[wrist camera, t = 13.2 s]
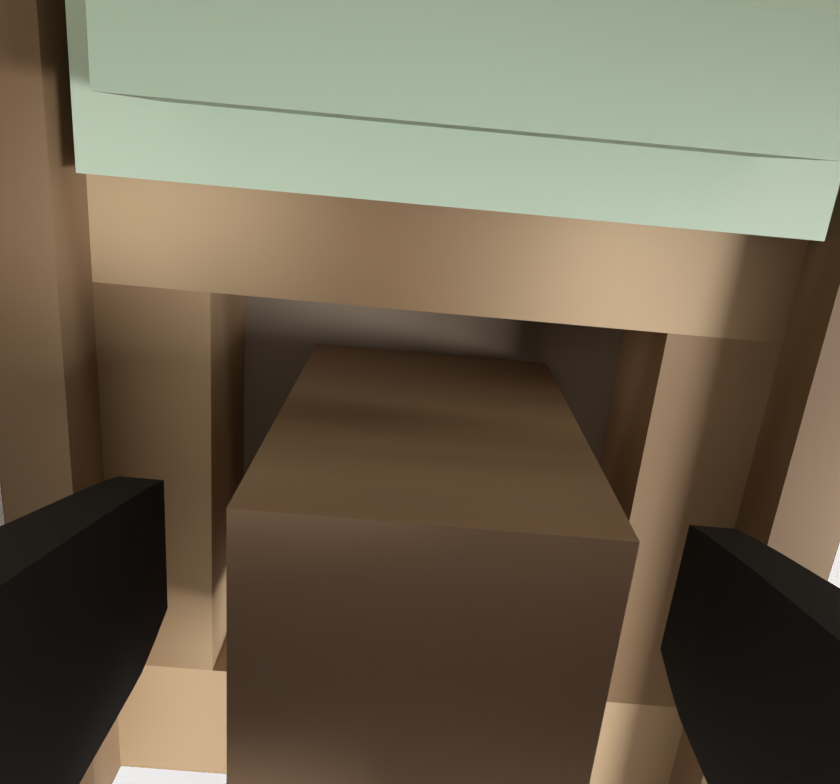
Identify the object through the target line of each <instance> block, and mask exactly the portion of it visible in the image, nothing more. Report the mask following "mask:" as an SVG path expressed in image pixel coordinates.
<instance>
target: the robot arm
mask: <svg viewBox="0 0 840 784" xmlns="http://www.w3.org/2000/svg"><path fill="white" fill-rule="evenodd" d="M167 609H168V603H167V569H166V535H165V501H164V480H157V479H145V478H133V477H122V476H118V477H115V478H112V479H109V480H106V481H103V482H100V483H98V484H95V485H93V486H90V487H88V488H85V489H83V490H81V491H78V492H76V493H74V494H72V495H69V496H67V497H65V498H62V499H60V500H58V501H56V502H54V503H51V504H49V505H47V506H45V507H43V508H40V509H38V510H36V511H34V512H31V513H29V514H27V515H25V516H22V517H20V518H18V519H16V520H13V521H11V522H9V523H7V524H5V525H2V526H0V784H80V782H81V780H82V778H83V777H84V775H85V773H86V771H87V770H88V768H89V766H90V764H91V763H92V761H93V759H94V757H95V756H96V754H97V752H98V750H99V749H100V747H101V745H102V743H103V742H104V740H105V738H106V736H107V735H108V733H109V731H110V729H111V728H112V726H113V724H114V722H115V720H116V719H117V717H118V715H119V713H120V711H121V710H122V708H123V706H124V704H125V703H126V701H127V699H128V697H129V695H130V694H131V692H132V690H133V688H134V686H135V685H136V683H137V681H138V679H139V677H140V675H141V674H142V671H143V669H144V667H145V664H146V662H147V659H148V657H149V655H150V652H151V650H152V647H153V645H154V642H155V640H156V637H157V635H158V632H159V629H160V627H161V624H162V622H163V619H164V616H165V614H166V611H167ZM660 650H661V654H662V658H663V661H664V665H665V669H666V673H667V677H668V681H669V684H670V688H671V691H672V695H673V698H674V701H675V705H676V708H677V711H678V715H679V718H680V720H681V723H682V725H683V727H684V730H685V732H686V735H687V737H688V739H689V742H690V744H691V746H692V749H693V751H694V754H695V756H696V758H697V761H698V763H699V765H700V768H701V770H702V772H703V775H704V777H705V779H706V781H707V784H840V588H838V587H836V586H835V585H833V584H831V583H830V582H828V581H826V580H825V579H823V578H821V577H820V576H818V575H816V574H815V573H813V572H812V571H810V570H808V569H807V568H805V567H803V566H802V565H800V564H798V563H797V562H795V561H793V560H792V559H790V558H788V557H787V556H785V555H783V554H782V553H780V552H778V551H776V550H775V549H773V548H771V547H769V546H768V545H766V544H764V543H762V542H760V541H759V540H757V539H755V538H753V537H751V536H749V535H747V534H745V533H742V532H740V531H738V530H736V529H732V528H720V527H709V526H697V525H689V529H688V533H687V537H686V542H685V546H684V550H683V554H682V559H681V563H680V567H679V571H678V576H677V580H676V584H675V588H674V592H673V597H672V601H671V605H670V609H669V614H668V618H667V622H666V626H665V631H664V635H663V639H662V643H661V648H660Z"/></svg>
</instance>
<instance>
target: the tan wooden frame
mask: <svg viewBox="0 0 840 784" xmlns="http://www.w3.org/2000/svg"><path fill="white" fill-rule="evenodd" d="M316 344H326V345H338V346H349V347H361V348H373V349H384V350H396V351H408V352H419V353H431V354H443V355H455V356H466V357H478V358H490V359H501V360H513V361H525V362H536V363H546V364H547V366H548V368H549V370H550V372H551V374H552V376H553V378H554V380H555V381H556V383H557V385H558V387H559V389H560V391H561V393H562V395H563V397H564V399H565V400H566V402H567V404H568V406H569V408H570V410H571V412H572V414H573V416H574V418H575V419H576V421H577V423H578V425H579V427H580V429H581V431H582V433H583V435H584V437H585V439H586V440H587V442H588V444H589V446H590V448H591V450H592V452H593V454H594V456H595V458H596V459H597V461H598V463H599V465H600V467H601V469H602V471H603V473H604V475H605V477H606V478H607V480H608V482H609V484H610V486H611V488H612V490H613V492H614V494H615V496H616V497H617V499H618V501H619V503H620V505H621V507H622V509H623V511H624V513H625V515H626V517H627V518H628V520H629V522H630V524H631V526H632V528H633V530H634V532H635V534H636V536H637V537H638V539H639V541H640V544H639V549H638V554H637V558H636V563H635V568H634V573H633V578H632V582H631V587H630V592H629V597H628V601H627V606H626V611H625V616H624V621H623V625H622V630H621V635H620V640H619V644H618V649H617V654H616V659H615V664H614V668H613V673H612V678H611V683H610V687H609V692H608V697H607V702H606V707H605V711H604V716H603V721H602V726H601V730H600V735H599V740H598V745H597V750H596V754H595V759H594V764H593V769H592V773H591V778H590V783H589V784H707V781H706V779H705V777H704V775H703V772H702V770H701V768H700V765H699V763H698V761H697V758H696V756H695V754H694V751H693V749H692V746H691V744H690V742H689V739H688V737H687V735H686V732H685V730H684V727H683V725H682V723H681V720H680V718H679V715H678V711H677V708H676V705H675V701H674V698H673V695H672V691H671V688H670V684H669V681H668V677H667V673H666V669H665V665H664V661H663V658H662V654H661V650H660V648H661V643H662V639H663V635H664V631H665V626H666V622H667V618H668V614H669V609H670V605H671V601H672V597H673V592H674V588H675V584H676V580H677V576H678V571H679V567H680V563H681V559H682V554H683V550H684V546H685V542H686V537H687V533H688V529H689V525H697V526H709V527H720V528H732V529H736V530H738V531H740V532H742V533H745V534H747V535H749V536H751V537H753V538H755V539H757V540H759V541H760V542H762V543H764V544H766V545H768V546H769V547H771V548H773V549H775V550H776V551H778V552H780V553H782V554H783V555H785V556H787V557H788V558H790V559H792V560H793V561H795V562H797V563H798V564H800V565H802V566H803V567H805V568H807V569H808V570H810V571H812V572H813V573H815V574H816V575H818V576H820V577H821V578H823V579H825V580H826V581H828V578H829V574H830V571H831V568H832V565H833V562H834V558H835V555H836V552H837V549H838V546H839V543H840V185H839V189H838V193H837V196H836V200H835V204H834V208H833V211H832V215H831V219H830V223H829V227H828V230H827V234H826V238H825V241H815V240H804V239H793V238H782V237H771V236H760V235H749V234H738V233H727V232H716V231H705V230H694V229H684V228H673V227H662V226H651V225H640V224H629V223H618V222H607V221H596V220H585V219H574V218H563V217H552V216H541V215H531V214H520V213H509V212H498V211H487V210H476V209H465V208H454V207H443V206H432V205H421V204H410V203H399V202H388V201H378V200H367V199H356V198H345V197H334V196H323V195H312V194H301V193H290V192H279V191H268V190H257V189H246V188H235V187H225V186H214V185H203V184H192V183H181V182H170V181H159V180H148V179H137V178H126V177H115V176H104V175H93V174H83V173H76V168H75V152H74V136H73V120H72V104H71V88H70V73H69V57H68V41H67V25H66V9H65V0H0V484H1V493H2V502H3V511H4V520H5V524H7V523H9V522H11V521H13V520H16V519H18V518H20V517H22V516H25V515H27V514H29V513H31V512H34V511H36V510H38V509H40V508H43V507H45V506H47V505H49V504H51V503H54V502H56V501H58V500H60V499H62V498H65V497H67V496H69V495H72V494H74V493H76V492H78V491H81V490H83V489H85V488H88V487H90V486H93V485H95V484H98V483H100V482H103V481H106V480H109V479H112V478H115V477H118V476H122V477H133V478H145V479H157V480H164V501H165V535H166V569H167V603H168V609H167V611H166V614H165V616H164V619H163V622H162V624H161V627H160V629H159V632H158V635H157V637H156V640H155V642H154V645H153V647H152V650H151V652H150V655H149V657H148V659H147V662H146V664H145V667H144V669H143V671H142V674H141V675H140V677H139V679H138V681H137V683H136V685H135V686H134V688H133V690H132V692H131V694H130V695H129V697H128V699H127V701H126V703H125V704H124V706H123V708H122V710H121V711H120V713H119V715H118V717H117V719H116V720H115V722H114V724H113V726H112V728H111V729H110V731H109V733H108V735H107V736H106V738H105V740H104V742H103V743H102V745H101V747H100V749H99V750H98V752H97V754H96V756H95V757H94V759H93V761H92V763H91V764H90V766H89V768H88V770H87V771H86V773H85V775H84V777H83V778H82V780H81V782H80V784H112V783H113V781H114V779H115V777H116V774H117V772H118V770H119V768H120V766H130V767H143V768H156V769H169V770H182V771H195V772H208V773H221V774H227V609H226V508H227V506H228V505H229V503H230V501H231V499H232V497H233V495H234V494H235V492H236V490H237V488H238V486H239V485H240V483H241V481H242V479H243V477H244V475H245V474H246V472H247V470H248V468H249V466H250V465H251V463H252V461H253V459H254V457H255V455H256V454H257V452H258V450H259V448H260V446H261V445H262V443H263V441H264V439H265V437H266V435H267V434H268V432H269V430H270V428H271V426H272V425H273V423H274V421H275V419H276V417H277V415H278V414H279V412H280V410H281V408H282V406H283V405H284V403H285V401H286V399H287V397H288V395H289V394H290V392H291V390H292V388H293V386H294V385H295V383H296V381H297V379H298V377H299V375H300V374H301V372H302V370H303V368H304V366H305V364H306V363H307V361H308V359H309V357H310V355H311V354H312V352H313V350H314V348H315V346H316Z"/></svg>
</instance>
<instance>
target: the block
mask: <svg viewBox="0 0 840 784" xmlns="http://www.w3.org/2000/svg"><path fill="white" fill-rule="evenodd" d="M639 544H640V541H639V539H638V537H637V536H636V534H635V532H634V530H633V528H632V526H631V524H630V522H629V520H628V518H627V517H626V515H625V513H624V511H623V509H622V507H621V505H620V503H619V501H618V499H617V497H616V496H615V494H614V492H613V490H612V488H611V486H610V484H609V482H608V480H607V478H606V477H605V475H604V473H603V471H602V469H601V467H600V465H599V463H598V461H597V459H596V458H595V456H594V454H593V452H592V450H591V448H590V446H589V444H588V442H587V440H586V439H585V437H584V435H583V433H582V431H581V429H580V427H579V425H578V423H577V421H576V419H575V418H574V416H573V414H572V412H571V410H570V408H569V406H568V404H567V402H566V400H565V399H564V397H563V395H562V393H561V391H560V389H559V387H558V385H557V383H556V381H555V380H554V378H553V376H552V374H551V372H550V370H549V368H548V366H547V364H546V363H536V362H525V361H513V360H501V359H490V358H478V357H466V356H455V355H443V354H431V353H419V352H408V351H396V350H384V349H373V348H361V347H349V346H338V345H326V344H316V346H315V348H314V350H313V352H312V354H311V355H310V357H309V359H308V361H307V363H306V364H305V366H304V368H303V370H302V372H301V374H300V375H299V377H298V379H297V381H296V383H295V385H294V386H293V388H292V390H291V392H290V394H289V395H288V397H287V399H286V401H285V403H284V405H283V406H282V408H281V410H280V412H279V414H278V415H277V417H276V419H275V421H274V423H273V425H272V426H271V428H270V430H269V432H268V434H267V435H266V437H265V439H264V441H263V443H262V445H261V446H260V448H259V450H258V452H257V454H256V455H255V457H254V459H253V461H252V463H251V465H250V466H249V468H248V470H247V472H246V474H245V475H244V477H243V479H242V481H241V483H240V485H239V486H238V488H237V490H236V492H235V494H234V495H233V497H232V499H231V501H230V503H229V505H228V506H227V508H226V609H227V784H589V783H590V778H591V773H592V769H593V764H594V759H595V754H596V750H597V745H598V740H599V735H600V730H601V726H602V721H603V716H604V711H605V707H606V702H607V697H608V692H609V687H610V683H611V678H612V673H613V668H614V664H615V659H616V654H617V649H618V644H619V640H620V635H621V630H622V625H623V621H624V616H625V611H626V606H627V601H628V597H629V592H630V587H631V582H632V578H633V573H634V568H635V563H636V558H637V554H638V549H639Z"/></svg>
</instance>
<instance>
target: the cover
mask: <svg viewBox="0 0 840 784" xmlns="http://www.w3.org/2000/svg"><path fill="white" fill-rule="evenodd" d="M65 9H66V25H67V41H68V57H69V73H70V88H71V104H72V120H73V136H74V152H75V168H76V173H83V174H93V175H104V176H115V177H126V178H137V179H148V180H159V181H170V182H181V183H192V184H203V185H214V186H225V187H235V188H246V189H257V190H268V191H279V192H290V193H301V194H312V195H323V196H334V197H345V198H356V199H367V200H378V201H388V202H399V203H410V204H421V205H432V206H443V207H454V208H465V209H476V210H487V211H498V212H509V213H520V214H531V215H541V216H552V217H563V218H574V219H585V220H596V221H607V222H618V223H629V224H640V225H651V226H662V227H673V228H684V229H694V230H705V231H716V232H727V233H738V234H749V235H760V236H771V237H782V238H793V239H804V240H815V241H825V238H826V234H827V230H828V227H829V223H830V219H831V215H832V211H833V208H834V204H835V200H836V196H837V193H838V189H839V185H840V0H65Z"/></svg>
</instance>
